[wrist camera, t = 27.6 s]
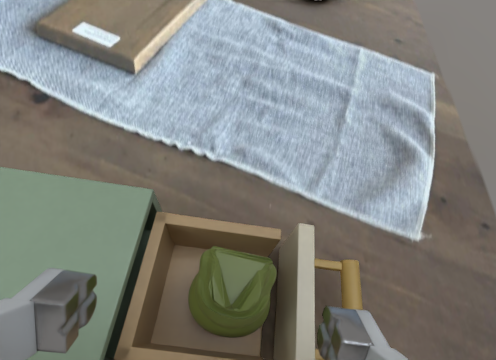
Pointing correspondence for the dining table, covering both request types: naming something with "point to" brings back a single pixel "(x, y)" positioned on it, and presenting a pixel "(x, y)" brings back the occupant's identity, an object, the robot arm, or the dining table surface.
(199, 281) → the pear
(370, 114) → the dining table surface
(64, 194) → the cabinet
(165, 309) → the drawer
